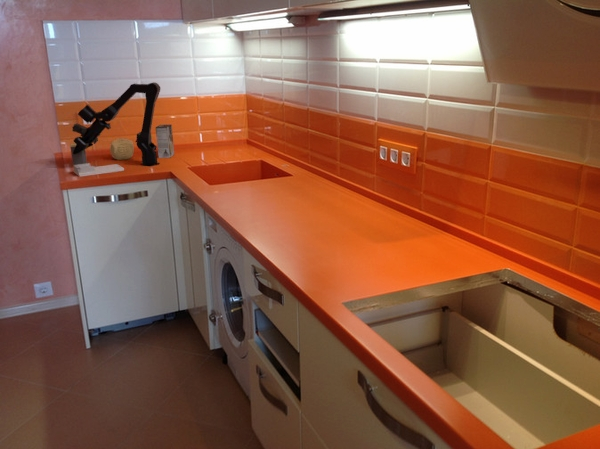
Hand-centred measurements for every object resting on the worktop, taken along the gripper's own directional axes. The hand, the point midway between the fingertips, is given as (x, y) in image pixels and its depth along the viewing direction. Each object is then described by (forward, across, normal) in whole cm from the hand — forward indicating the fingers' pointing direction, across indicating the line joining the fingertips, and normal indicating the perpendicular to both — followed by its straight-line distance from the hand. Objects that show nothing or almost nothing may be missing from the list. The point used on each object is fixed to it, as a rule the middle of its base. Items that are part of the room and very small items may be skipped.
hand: (75, 152), depth 265 cm
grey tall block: (+4, 0, +6) cm, 7 cm away
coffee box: (-23, -20, +33) cm, 45 cm away
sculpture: (-8, -16, +17) cm, 25 cm away
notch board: (-6, +13, +15) cm, 21 cm away
